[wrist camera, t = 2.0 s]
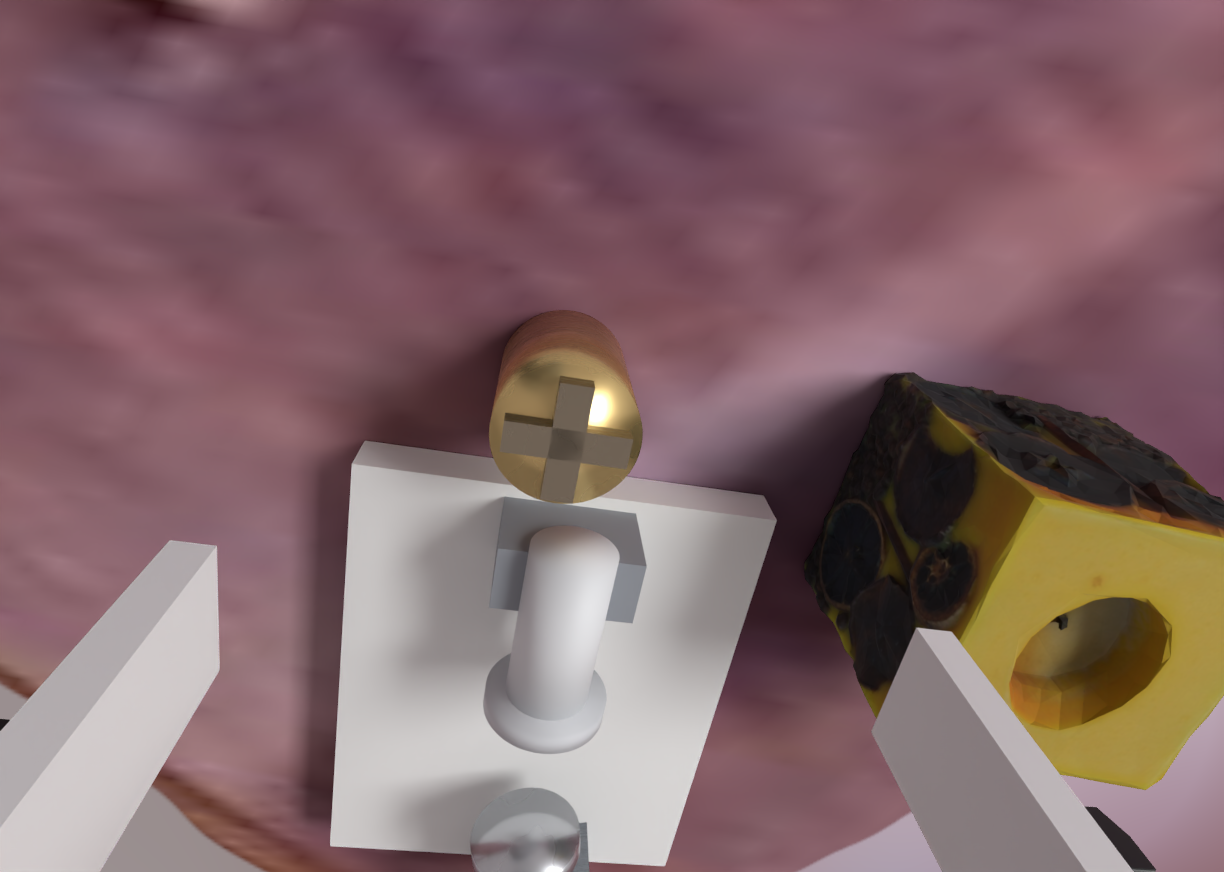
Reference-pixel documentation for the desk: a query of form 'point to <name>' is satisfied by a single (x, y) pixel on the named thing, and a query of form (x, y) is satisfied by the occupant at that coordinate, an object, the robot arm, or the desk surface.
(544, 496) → the coupler
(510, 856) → the shaft out
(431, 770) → the shaft base
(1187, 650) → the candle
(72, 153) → the desk surface
